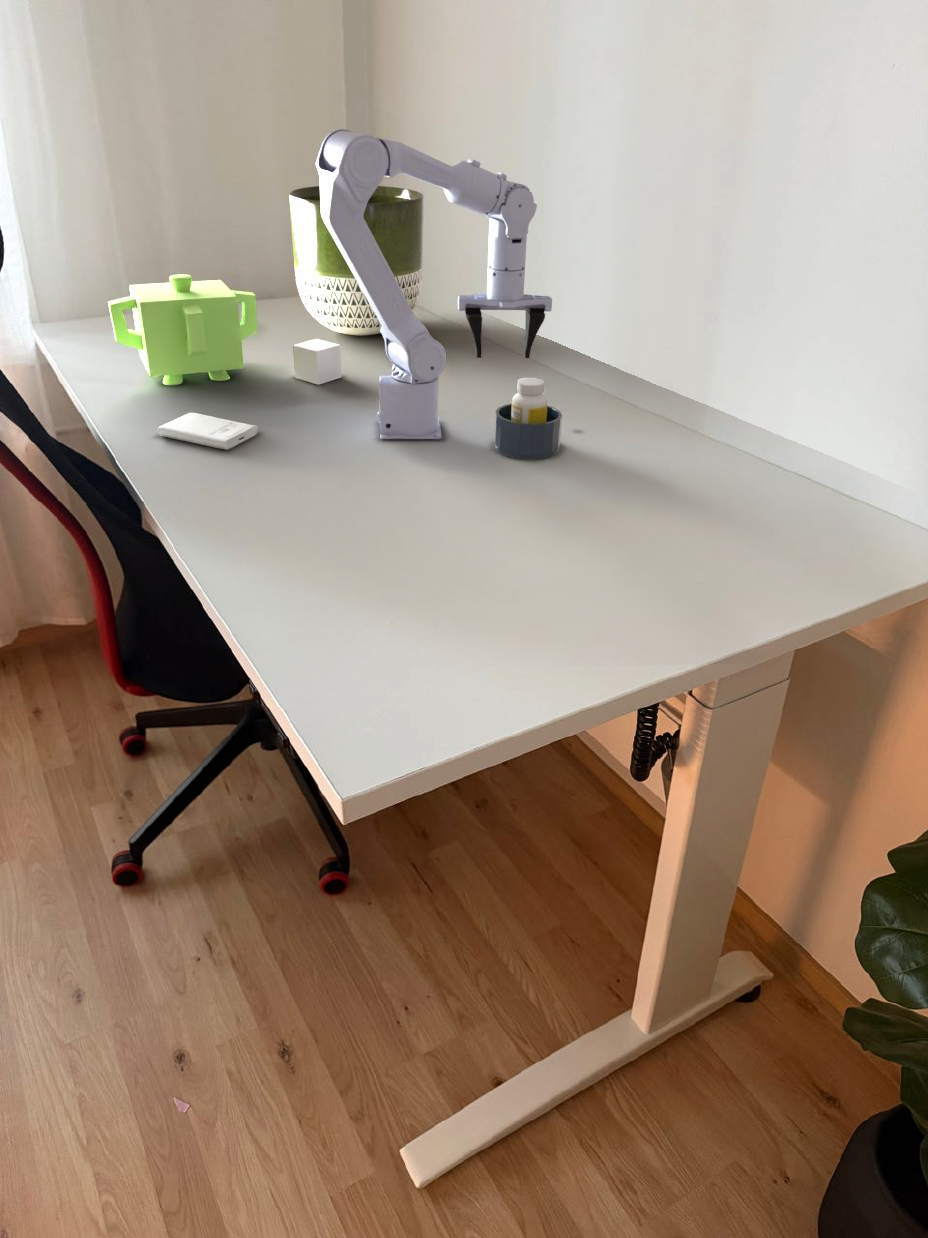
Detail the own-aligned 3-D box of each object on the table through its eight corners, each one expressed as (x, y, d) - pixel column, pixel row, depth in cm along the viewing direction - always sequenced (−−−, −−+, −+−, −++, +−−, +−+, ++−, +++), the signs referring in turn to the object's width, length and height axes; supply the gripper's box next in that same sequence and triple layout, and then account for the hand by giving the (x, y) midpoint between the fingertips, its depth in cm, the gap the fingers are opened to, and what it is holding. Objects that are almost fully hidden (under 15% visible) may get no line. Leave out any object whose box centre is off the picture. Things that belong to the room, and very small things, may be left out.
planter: (419, 350, 191) (420, 205, 176) (287, 345, 190) (277, 200, 176) (426, 317, 213) (426, 186, 199) (308, 313, 213) (300, 182, 199)
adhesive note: (318, 370, 177) (316, 338, 174) (341, 377, 174) (340, 344, 171) (294, 377, 173) (292, 344, 170) (318, 384, 170) (316, 351, 167)
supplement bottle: (548, 440, 147) (553, 378, 142) (539, 452, 143) (544, 388, 138) (515, 435, 149) (518, 373, 143) (505, 447, 144) (508, 384, 139)
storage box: (129, 399, 160) (112, 294, 151) (114, 362, 178) (98, 266, 169) (274, 384, 169) (267, 285, 160) (246, 351, 186) (238, 259, 178)
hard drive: (193, 421, 152) (257, 434, 148) (159, 437, 146) (225, 450, 141) (192, 411, 151) (257, 424, 147) (157, 426, 145) (224, 440, 140)
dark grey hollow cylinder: (497, 459, 141) (499, 424, 138) (491, 435, 150) (492, 402, 147) (563, 459, 142) (566, 424, 139) (553, 435, 151) (556, 402, 148)
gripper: (460, 272, 140) (458, 363, 148) (557, 273, 142) (551, 363, 149) (457, 262, 146) (456, 350, 154) (550, 263, 148) (544, 350, 155)
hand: (502, 356), depth 151 cm, fingers open, 7 cm apart
